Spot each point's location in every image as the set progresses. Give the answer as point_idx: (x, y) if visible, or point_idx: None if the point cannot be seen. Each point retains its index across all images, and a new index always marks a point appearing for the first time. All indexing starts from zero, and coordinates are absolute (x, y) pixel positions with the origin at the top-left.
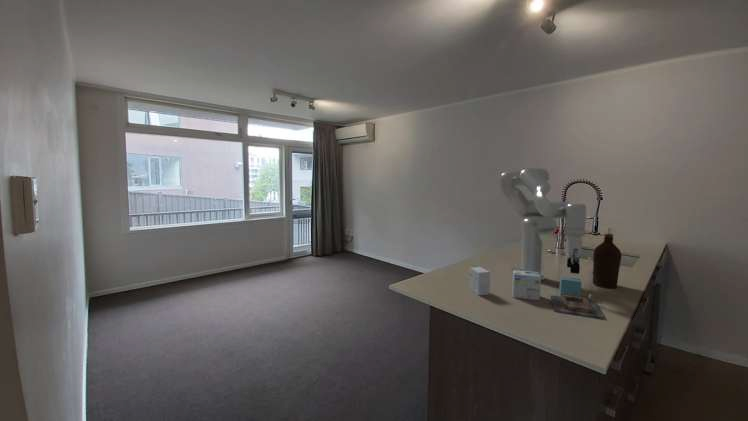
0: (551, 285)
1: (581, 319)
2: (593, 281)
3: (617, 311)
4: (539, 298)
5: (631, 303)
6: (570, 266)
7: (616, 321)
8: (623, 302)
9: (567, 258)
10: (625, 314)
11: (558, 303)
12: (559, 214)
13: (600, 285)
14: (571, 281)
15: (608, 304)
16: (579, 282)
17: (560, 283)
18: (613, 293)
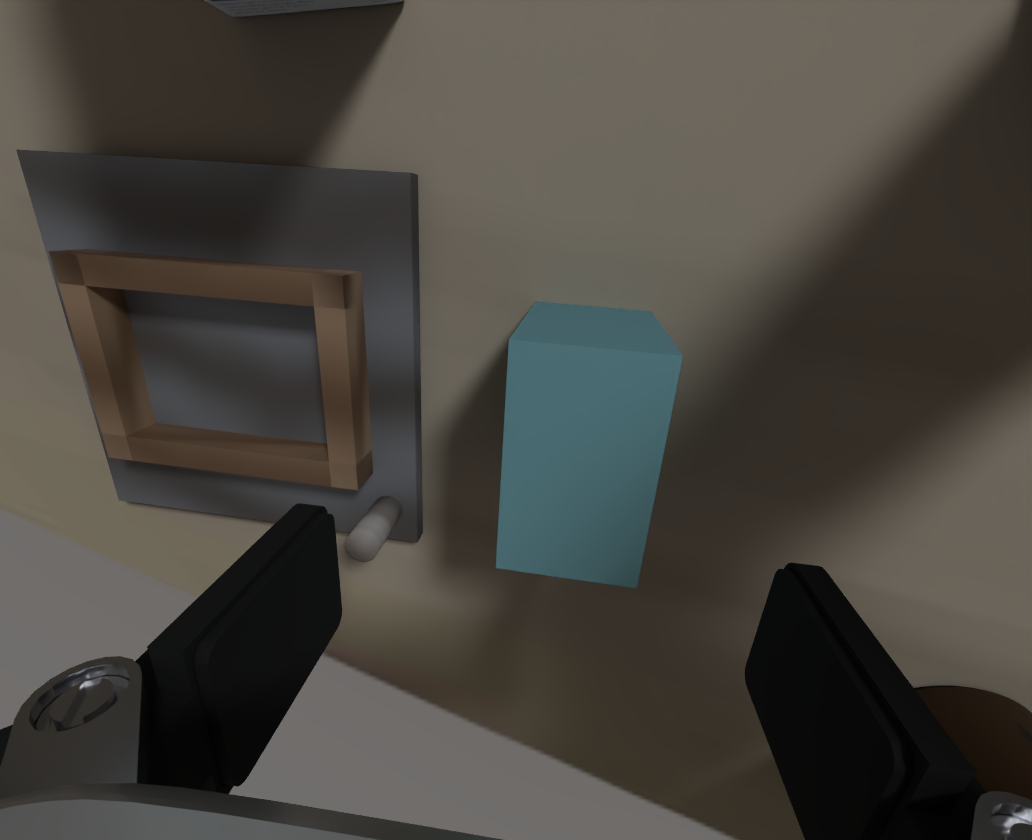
0: (862, 257)
1: (30, 346)
2: (976, 710)
3: None
4: (213, 3)
5: (522, 739)
6: (773, 624)
7: (148, 548)
8: (523, 707)
9: (961, 771)
10: None
11: (193, 219)
12: None
13: None
14: (502, 462)
15: (438, 611)
16: (498, 543)
17: (586, 328)
18: (711, 726)
